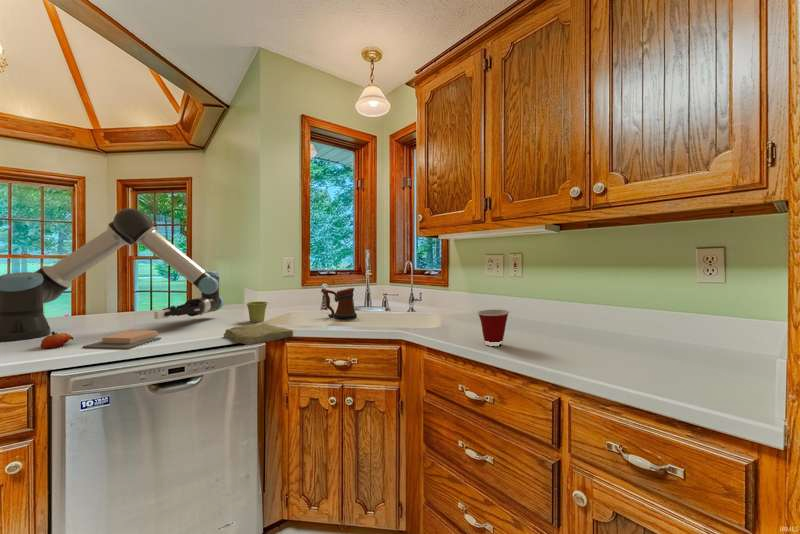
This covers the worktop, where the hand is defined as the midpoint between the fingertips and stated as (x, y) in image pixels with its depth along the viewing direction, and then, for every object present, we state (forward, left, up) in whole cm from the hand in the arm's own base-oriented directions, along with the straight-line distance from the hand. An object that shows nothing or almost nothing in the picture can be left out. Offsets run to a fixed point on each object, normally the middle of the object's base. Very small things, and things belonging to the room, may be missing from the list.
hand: (156, 315), depth 135 cm
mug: (+60, +46, -8) cm, 76 cm away
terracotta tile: (0, -5, -6) cm, 8 cm away
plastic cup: (+127, -2, -7) cm, 127 cm away
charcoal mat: (0, -14, -7) cm, 16 cm away
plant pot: (+25, +31, -7) cm, 40 cm away
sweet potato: (-19, -20, -8) cm, 28 cm away
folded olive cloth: (+40, +1, -8) cm, 41 cm away
